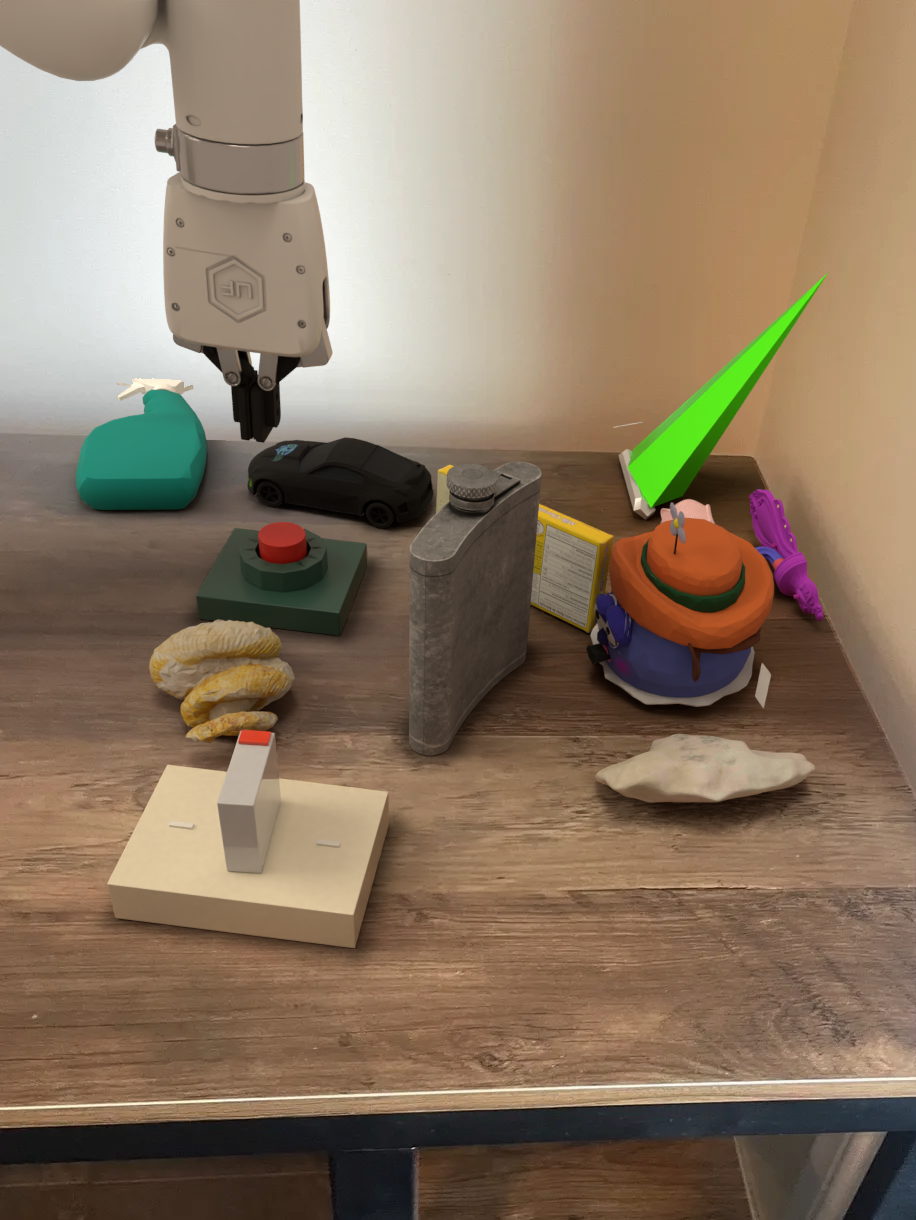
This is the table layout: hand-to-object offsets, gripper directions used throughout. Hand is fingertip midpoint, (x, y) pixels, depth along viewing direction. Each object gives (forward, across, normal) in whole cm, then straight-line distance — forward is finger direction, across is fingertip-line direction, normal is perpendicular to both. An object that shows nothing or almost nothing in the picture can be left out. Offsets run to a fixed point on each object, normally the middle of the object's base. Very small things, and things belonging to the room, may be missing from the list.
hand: (258, 432), depth 83 cm
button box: (+14, +1, 0) cm, 14 cm away
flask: (+14, +17, -10) cm, 24 cm away
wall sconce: (+12, +41, -2) cm, 43 cm away
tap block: (+14, +7, -28) cm, 33 cm away
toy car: (+14, +2, +16) cm, 21 cm away
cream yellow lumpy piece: (+14, +1, -13) cm, 20 cm away
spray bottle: (+13, -14, +9) cm, 21 cm away
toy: (+13, +32, -3) cm, 35 cm away
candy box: (+14, +19, +4) cm, 24 cm away
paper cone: (-8, +42, +26) cm, 50 cm away
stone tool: (+11, +27, -19) cm, 35 cm away
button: (+10, +1, 0) cm, 10 cm away
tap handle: (+11, +7, -29) cm, 31 cm away
